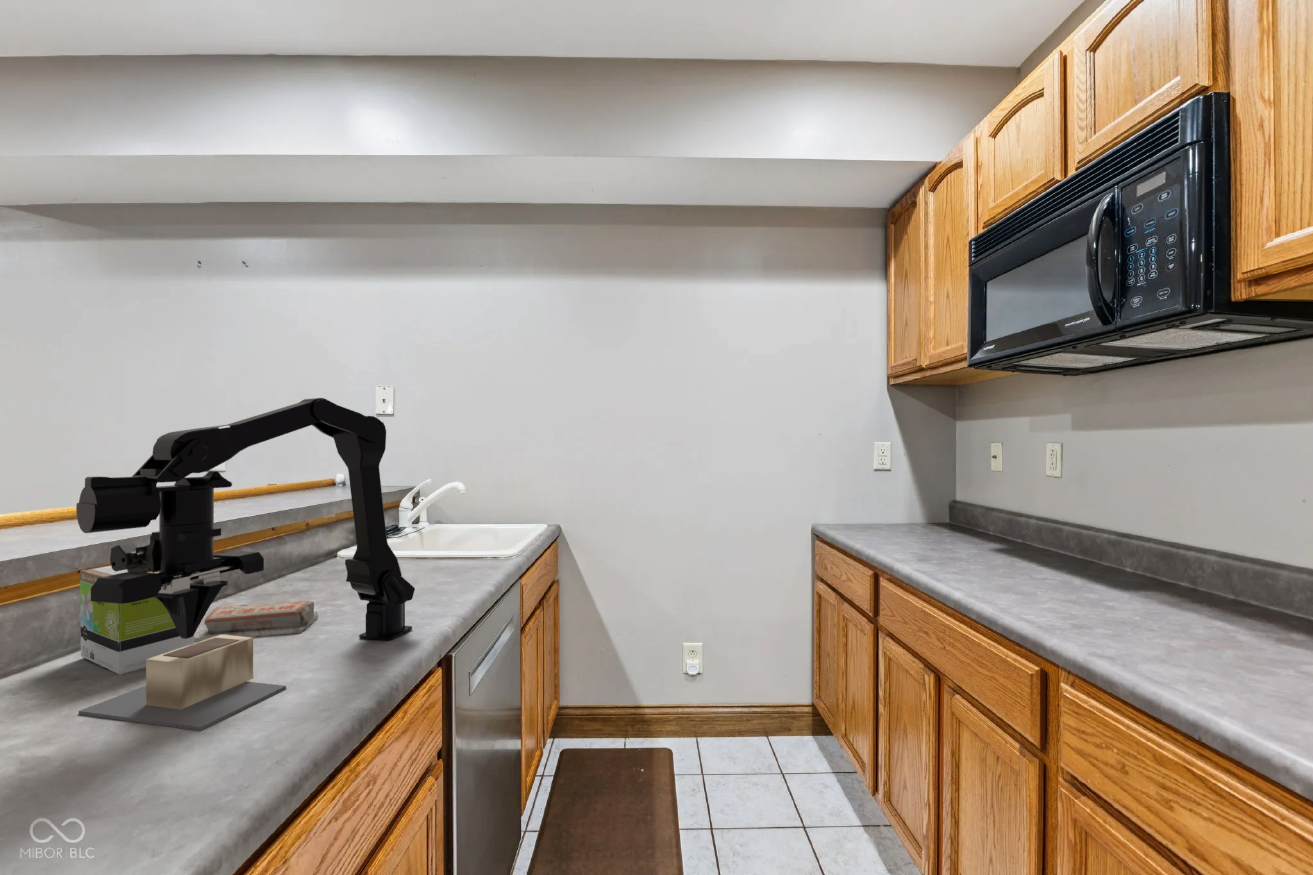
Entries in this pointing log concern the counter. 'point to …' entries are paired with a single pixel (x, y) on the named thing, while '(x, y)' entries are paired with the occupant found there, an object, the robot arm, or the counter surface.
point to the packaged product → (258, 620)
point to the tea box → (124, 628)
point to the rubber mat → (190, 717)
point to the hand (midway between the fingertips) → (186, 637)
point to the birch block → (198, 671)
